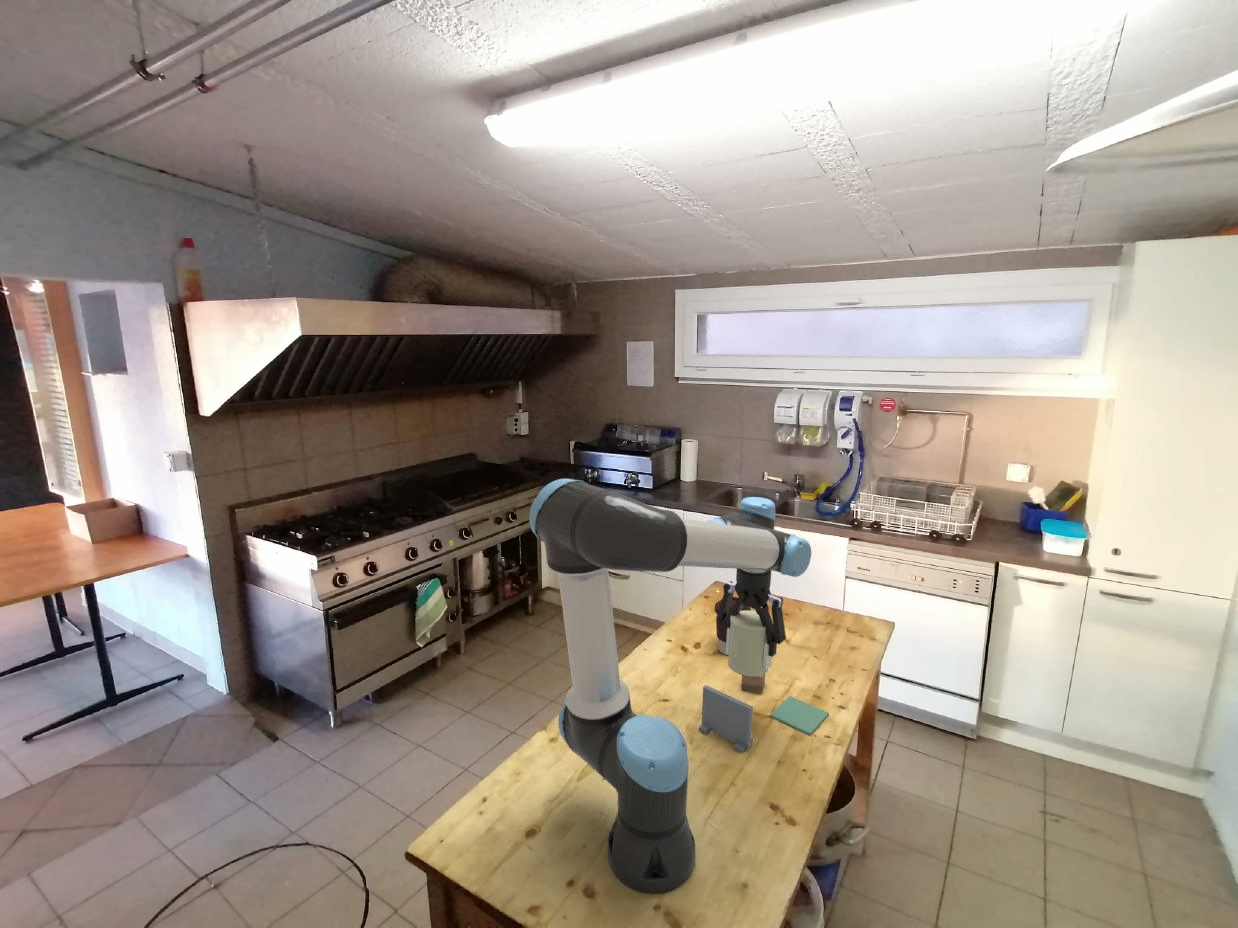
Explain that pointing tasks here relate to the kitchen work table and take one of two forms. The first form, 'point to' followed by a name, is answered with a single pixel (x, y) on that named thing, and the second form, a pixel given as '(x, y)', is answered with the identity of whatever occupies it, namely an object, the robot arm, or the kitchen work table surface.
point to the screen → (727, 718)
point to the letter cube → (753, 684)
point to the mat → (799, 715)
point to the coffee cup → (721, 627)
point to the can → (747, 644)
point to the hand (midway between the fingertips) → (748, 659)
